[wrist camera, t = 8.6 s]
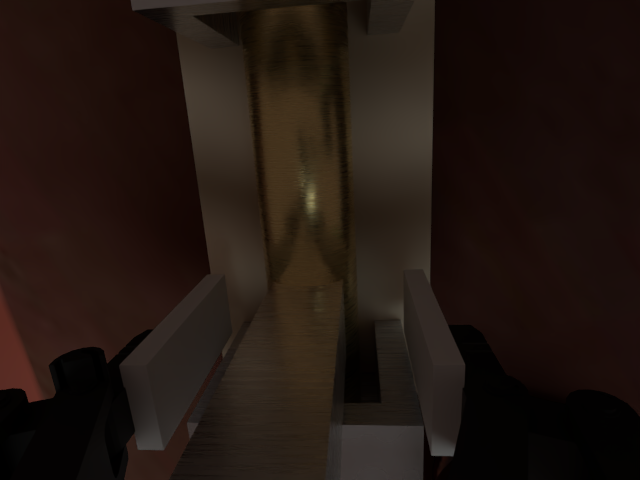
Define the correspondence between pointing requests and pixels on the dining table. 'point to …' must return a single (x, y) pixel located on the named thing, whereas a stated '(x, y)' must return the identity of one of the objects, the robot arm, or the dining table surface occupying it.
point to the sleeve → (222, 4)
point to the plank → (368, 165)
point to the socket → (367, 412)
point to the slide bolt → (293, 262)
